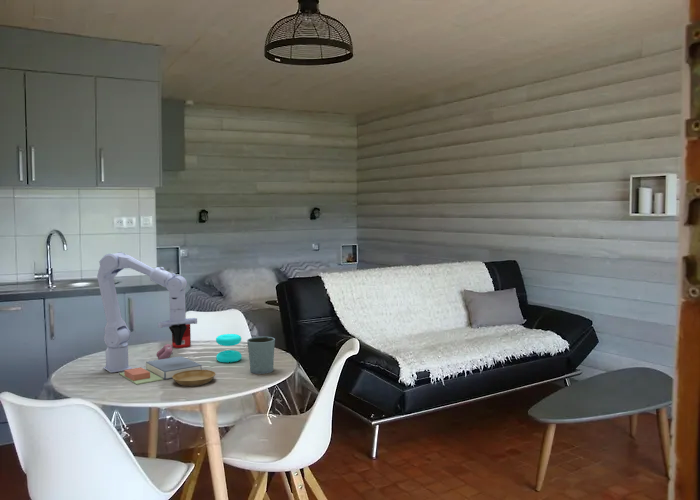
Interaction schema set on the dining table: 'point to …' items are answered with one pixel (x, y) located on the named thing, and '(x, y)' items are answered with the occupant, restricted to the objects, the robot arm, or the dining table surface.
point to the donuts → (228, 354)
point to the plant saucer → (194, 377)
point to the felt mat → (147, 380)
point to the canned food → (183, 339)
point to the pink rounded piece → (165, 352)
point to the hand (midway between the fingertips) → (178, 344)
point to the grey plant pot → (261, 354)
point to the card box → (137, 373)
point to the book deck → (171, 366)
